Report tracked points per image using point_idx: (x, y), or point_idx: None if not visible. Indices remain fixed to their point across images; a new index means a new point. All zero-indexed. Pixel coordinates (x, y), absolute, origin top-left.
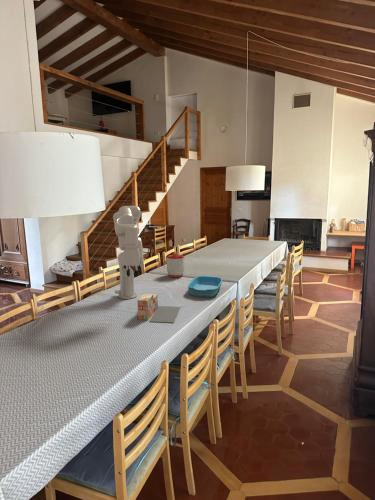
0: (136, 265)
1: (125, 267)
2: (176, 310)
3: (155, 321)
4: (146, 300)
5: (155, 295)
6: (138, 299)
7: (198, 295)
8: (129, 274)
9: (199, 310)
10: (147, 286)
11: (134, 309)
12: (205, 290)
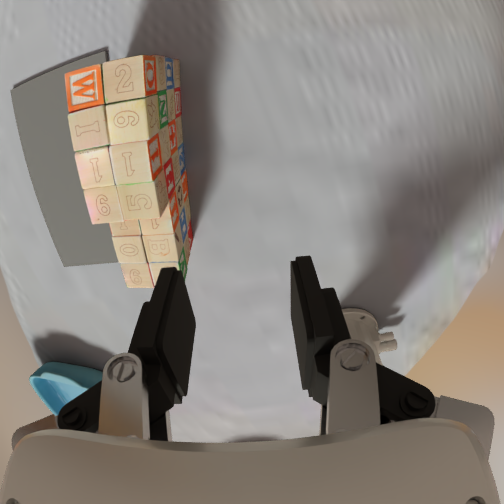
0: (55, 436)
1: (390, 392)
2: (54, 223)
3: (77, 60)
4: (74, 76)
5: (125, 266)
6: (139, 68)
7: (79, 366)
8: (294, 312)
9: (2, 250)
10: (289, 411)
11: (256, 196)
12: (43, 372)
